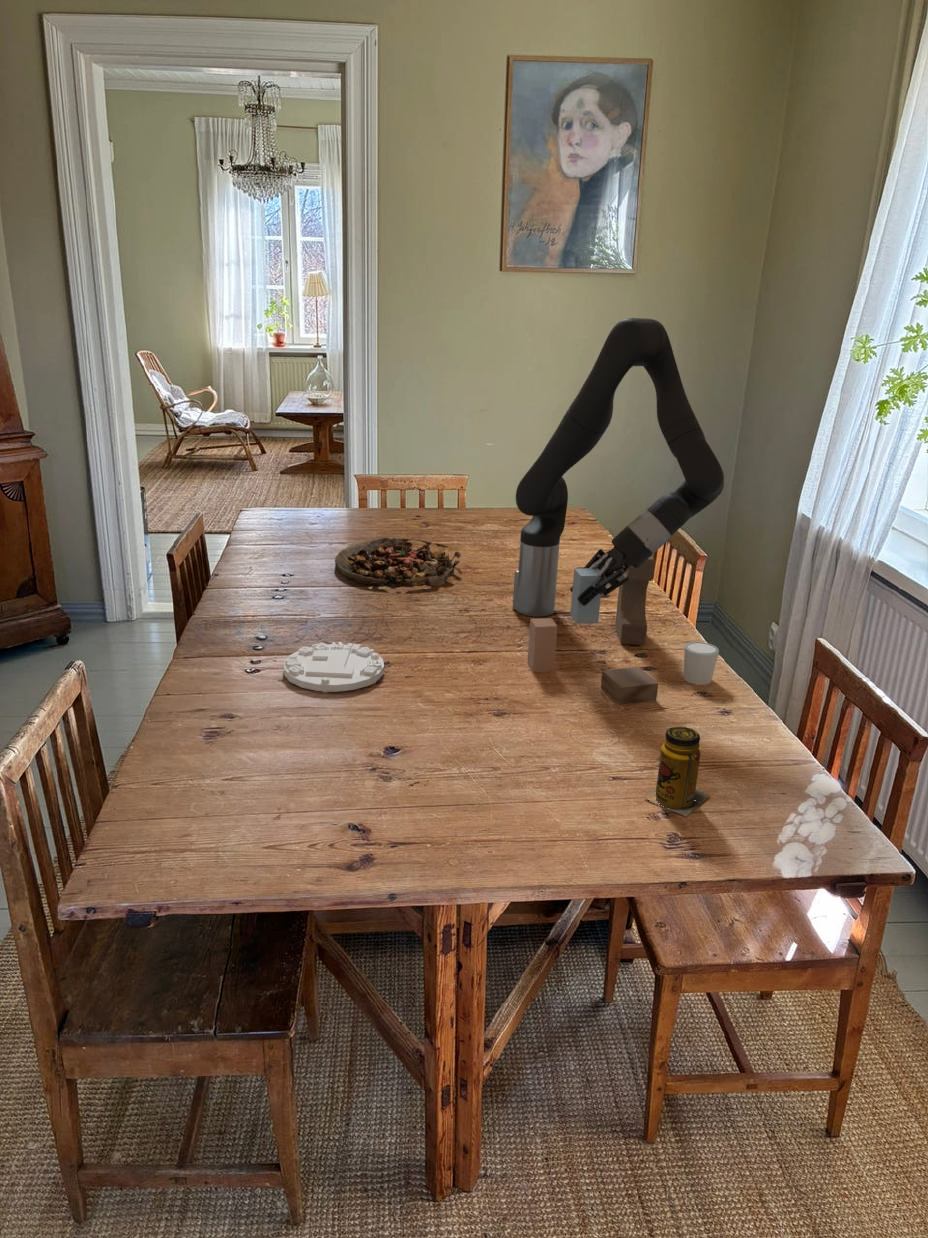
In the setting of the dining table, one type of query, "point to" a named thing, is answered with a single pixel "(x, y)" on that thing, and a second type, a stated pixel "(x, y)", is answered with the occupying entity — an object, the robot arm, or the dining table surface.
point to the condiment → (679, 772)
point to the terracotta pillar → (542, 644)
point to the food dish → (395, 563)
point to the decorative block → (634, 604)
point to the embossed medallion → (334, 667)
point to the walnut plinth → (629, 685)
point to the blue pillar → (580, 584)
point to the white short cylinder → (699, 662)
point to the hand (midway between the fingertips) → (576, 597)
